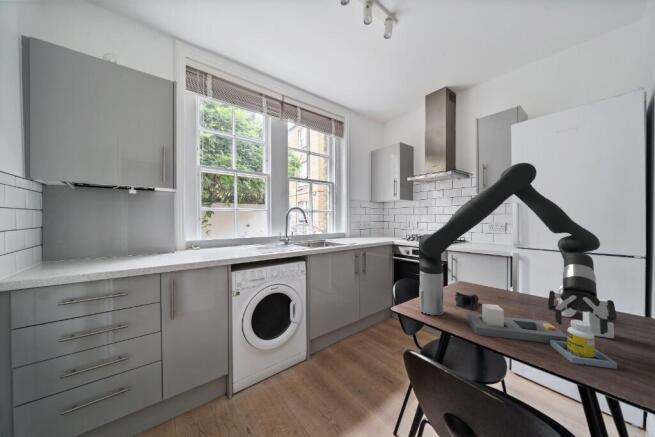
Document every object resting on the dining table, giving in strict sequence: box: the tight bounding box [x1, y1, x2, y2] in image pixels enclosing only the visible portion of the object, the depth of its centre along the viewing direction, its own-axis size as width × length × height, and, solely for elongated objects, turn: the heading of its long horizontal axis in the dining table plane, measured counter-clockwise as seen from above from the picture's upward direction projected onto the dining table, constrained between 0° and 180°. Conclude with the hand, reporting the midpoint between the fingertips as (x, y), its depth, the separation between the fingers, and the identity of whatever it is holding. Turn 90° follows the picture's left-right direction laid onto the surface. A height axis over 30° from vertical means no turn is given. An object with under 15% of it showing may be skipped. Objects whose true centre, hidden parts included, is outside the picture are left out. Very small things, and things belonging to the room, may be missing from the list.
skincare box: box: [582, 297, 615, 339], centre depth 80 cm, size 6×4×12 cm
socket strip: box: [465, 303, 567, 344], centre depth 83 cm, size 26×12×8 cm, turn 74°
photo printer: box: [557, 284, 577, 318], centre depth 97 cm, size 10×4×12 cm, turn 123°
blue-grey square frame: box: [549, 340, 618, 370], centre depth 68 cm, size 10×10×2 cm
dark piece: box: [454, 291, 480, 311], centre depth 107 cm, size 9×8×12 cm
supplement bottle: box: [566, 319, 596, 359], centre depth 68 cm, size 5×5×10 cm
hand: (580, 328), depth 69 cm, fingers open, 8 cm apart
